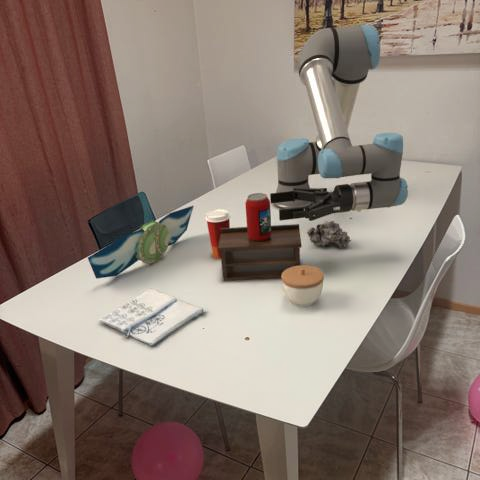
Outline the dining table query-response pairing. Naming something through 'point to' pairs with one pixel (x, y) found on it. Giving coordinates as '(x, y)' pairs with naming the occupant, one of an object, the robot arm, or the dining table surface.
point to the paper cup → (216, 228)
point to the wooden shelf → (259, 253)
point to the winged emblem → (141, 244)
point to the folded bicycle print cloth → (151, 316)
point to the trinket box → (302, 284)
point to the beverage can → (258, 217)
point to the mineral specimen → (328, 234)
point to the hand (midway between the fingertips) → (274, 206)
